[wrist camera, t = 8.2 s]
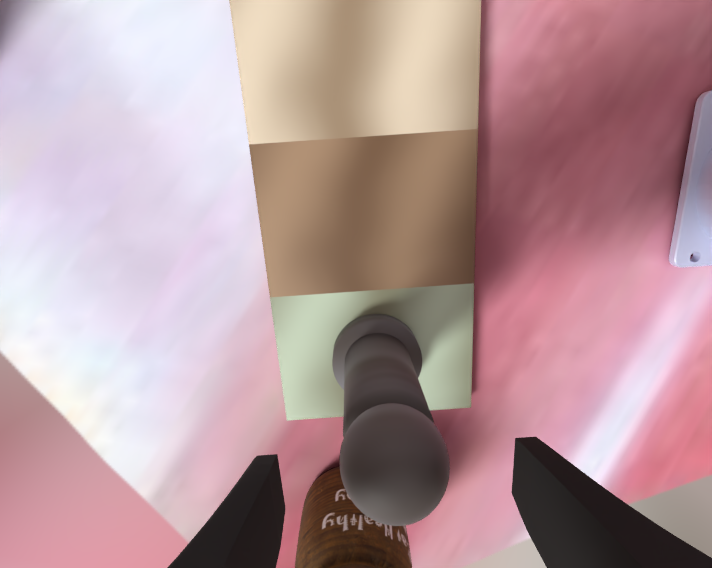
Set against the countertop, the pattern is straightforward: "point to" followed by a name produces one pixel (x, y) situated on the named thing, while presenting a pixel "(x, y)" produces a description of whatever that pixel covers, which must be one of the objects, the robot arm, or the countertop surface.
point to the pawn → (387, 423)
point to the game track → (364, 180)
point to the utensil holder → (345, 532)
